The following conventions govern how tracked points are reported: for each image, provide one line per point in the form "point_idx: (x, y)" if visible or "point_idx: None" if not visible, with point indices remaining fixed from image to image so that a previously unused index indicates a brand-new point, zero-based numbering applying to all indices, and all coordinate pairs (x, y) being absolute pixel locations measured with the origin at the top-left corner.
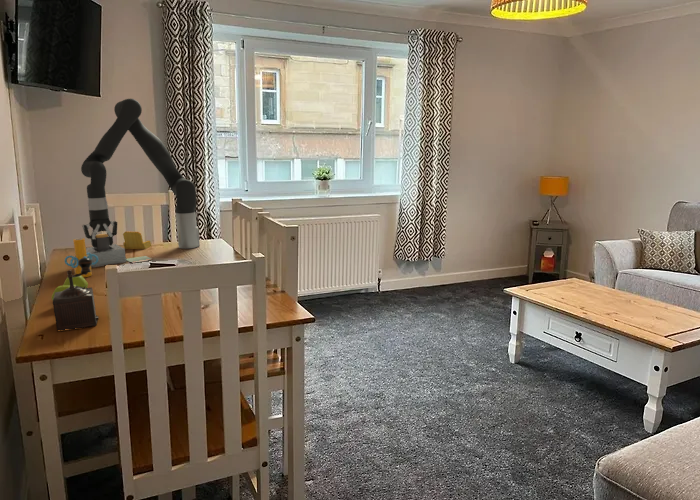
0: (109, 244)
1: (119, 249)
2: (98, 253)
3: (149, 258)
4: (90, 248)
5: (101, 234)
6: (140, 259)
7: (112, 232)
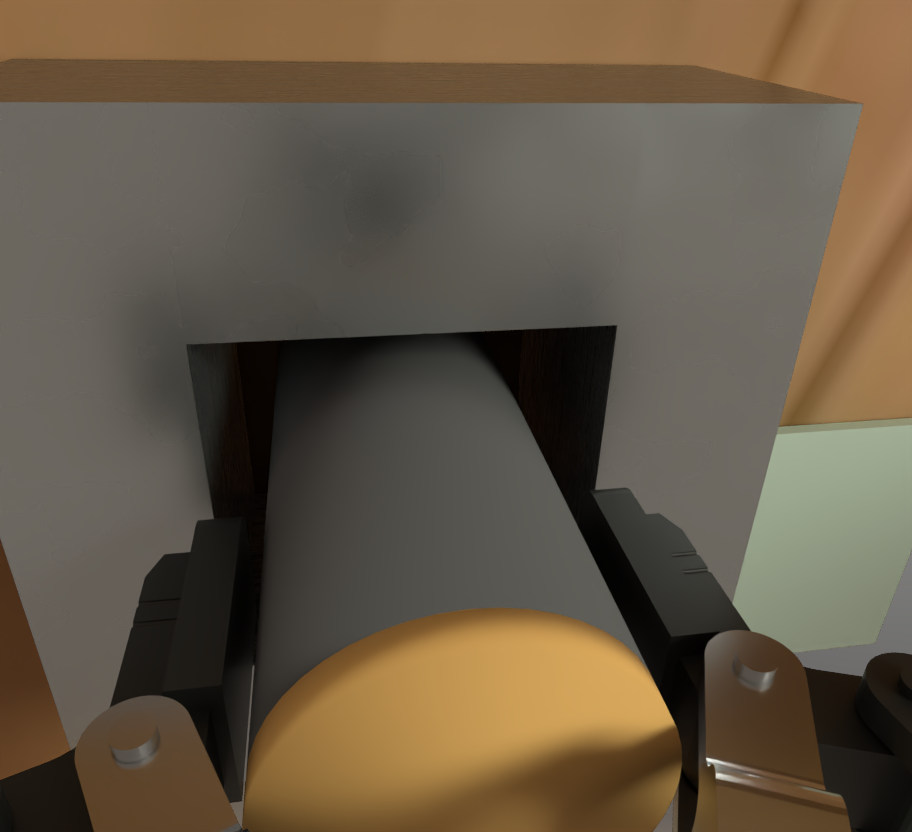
0: (584, 534)
1: None
2: (245, 766)
3: (884, 587)
4: (136, 311)
5: (516, 705)
6: (790, 577)
7: (874, 762)
